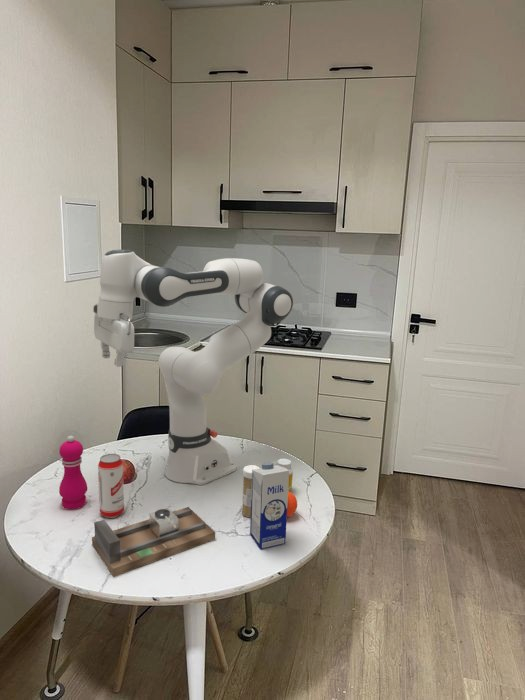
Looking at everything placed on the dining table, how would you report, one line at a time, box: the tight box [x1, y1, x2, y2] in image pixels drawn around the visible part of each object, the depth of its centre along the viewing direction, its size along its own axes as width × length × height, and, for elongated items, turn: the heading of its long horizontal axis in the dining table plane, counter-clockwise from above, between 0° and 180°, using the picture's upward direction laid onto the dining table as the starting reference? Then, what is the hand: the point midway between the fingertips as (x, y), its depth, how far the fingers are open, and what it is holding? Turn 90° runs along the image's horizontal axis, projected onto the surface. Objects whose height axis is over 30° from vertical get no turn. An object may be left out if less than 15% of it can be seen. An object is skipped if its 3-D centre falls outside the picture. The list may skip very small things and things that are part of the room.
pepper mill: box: [58, 435, 88, 510], centre depth 142 cm, size 7×7×20 cm
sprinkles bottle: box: [241, 464, 260, 518], centre depth 141 cm, size 5×5×14 cm
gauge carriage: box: [148, 507, 179, 538], centre depth 128 cm, size 5×9×4 cm, turn 36°
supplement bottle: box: [276, 458, 294, 493], centre depth 154 cm, size 5×5×10 cm
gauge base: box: [91, 506, 216, 578], centre depth 128 cm, size 26×14×7 cm, turn 126°
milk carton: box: [249, 462, 290, 550], centre depth 129 cm, size 7×7×20 cm
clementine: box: [287, 491, 298, 518], centre depth 141 cm, size 8×7×7 cm
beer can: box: [97, 453, 125, 519], centre depth 139 cm, size 6×6×16 cm
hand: (112, 361), depth 142 cm, fingers open, 8 cm apart
